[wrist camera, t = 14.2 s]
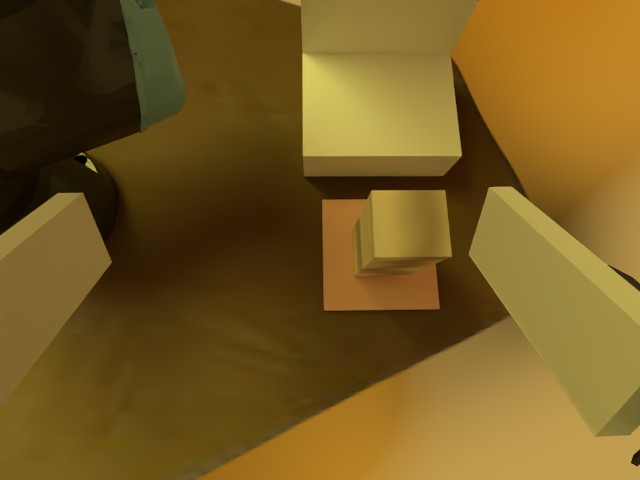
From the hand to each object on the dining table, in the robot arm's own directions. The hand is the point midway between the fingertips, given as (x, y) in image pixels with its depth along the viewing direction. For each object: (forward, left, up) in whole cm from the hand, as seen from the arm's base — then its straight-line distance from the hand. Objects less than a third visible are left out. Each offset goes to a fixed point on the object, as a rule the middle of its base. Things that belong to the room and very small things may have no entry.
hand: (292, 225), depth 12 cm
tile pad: (+8, +4, -25) cm, 26 cm away
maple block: (+8, +4, -24) cm, 26 cm away
